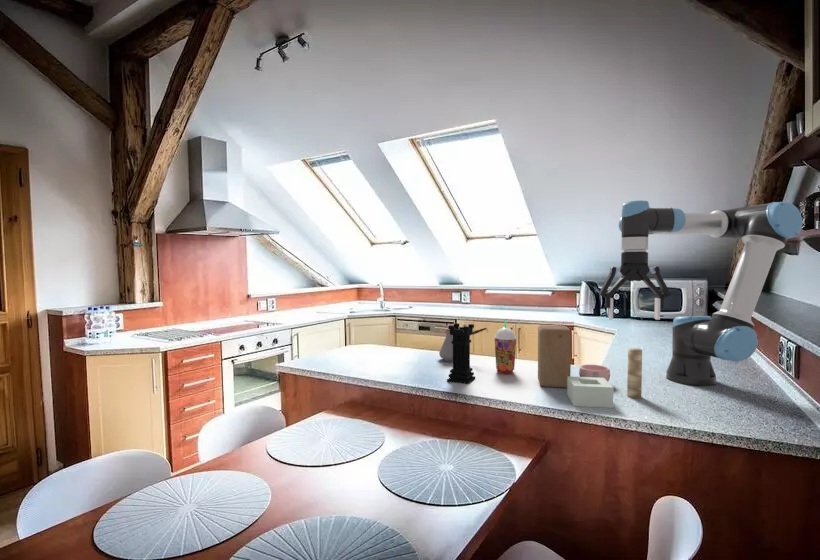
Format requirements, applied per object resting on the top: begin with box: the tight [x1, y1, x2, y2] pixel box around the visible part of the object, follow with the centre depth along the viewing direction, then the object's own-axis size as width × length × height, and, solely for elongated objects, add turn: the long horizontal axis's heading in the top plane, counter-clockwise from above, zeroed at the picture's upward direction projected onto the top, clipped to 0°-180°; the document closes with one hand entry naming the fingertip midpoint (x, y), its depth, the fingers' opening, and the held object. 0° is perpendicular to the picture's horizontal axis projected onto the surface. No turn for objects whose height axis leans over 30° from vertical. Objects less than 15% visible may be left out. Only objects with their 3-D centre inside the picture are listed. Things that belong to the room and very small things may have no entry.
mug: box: [578, 364, 611, 382], centre depth 157 cm, size 12×10×6 cm
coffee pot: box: [439, 327, 489, 363], centre depth 192 cm, size 21×12×15 cm, turn 66°
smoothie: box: [494, 320, 517, 375], centre depth 172 cm, size 8×8×20 cm
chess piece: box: [446, 322, 476, 385], centre depth 161 cm, size 8×8×20 cm
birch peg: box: [626, 347, 643, 400], centre depth 141 cm, size 4×4×15 cm
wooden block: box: [537, 324, 572, 389], centre depth 156 cm, size 10×10×20 cm
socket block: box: [566, 375, 614, 409], centre depth 137 cm, size 11×11×6 cm
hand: (633, 319), depth 141 cm, fingers open, 13 cm apart
